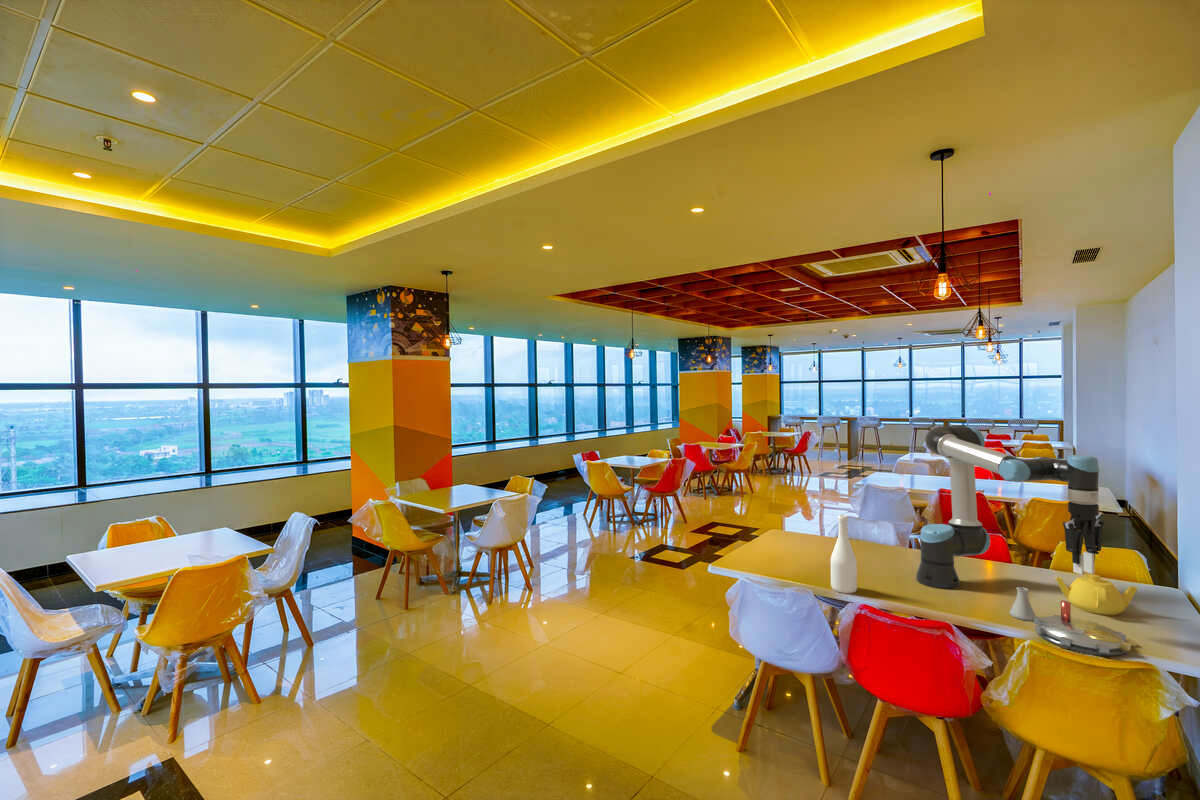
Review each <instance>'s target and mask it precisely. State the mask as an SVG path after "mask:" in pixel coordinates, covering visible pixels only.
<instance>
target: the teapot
mask: <svg viewBox="0 0 1200 800" xmlns="http://www.w3.org/2000/svg"><path fill="white" fill-rule="evenodd" d="M1054 579H1055V580H1056V582H1057V584H1058V586H1059V588H1060V590H1061V592H1062V594H1063V596H1064V597H1065V598H1066V599H1067V600H1066V601H1067V602H1070V603H1071V605H1072V606H1073V607H1075V608H1076V609H1078V610H1081V611H1084V612H1086V613H1087V612H1088V613H1092V614H1095V615H1096V614H1097V615H1104V616H1117V615H1120V614H1122V613H1123V612H1124V611H1125V610H1126V608H1128V606H1129V604H1130V602H1131V601H1132V600H1133V597H1134V596H1135V595H1136V592H1137V590H1138V587H1137V586H1129V587H1128V588H1127V589H1126V590H1125V591H1124V592H1123V593H1122V594H1121V592H1120V591H1119V590H1118V588H1117V587H1116V586H1115V585H1114V583H1113V582H1112V581H1109V580H1108V579H1104V578H1102V577H1101V575H1099V574H1095V573H1094V574H1091V573H1088V572H1084V575H1083V576H1078V577H1077V578H1076V579H1074V580H1073V582H1072V583H1071V584H1070V585H1069V586H1067V584H1066V583H1065V582H1064V580H1063V578H1062V577H1061V576H1060V577H1058V576H1055V577H1054Z"/></svg>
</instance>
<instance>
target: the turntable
mask: <svg viewBox="0 0 1200 800" xmlns="http://www.w3.org/2000/svg"><path fill="white" fill-rule="evenodd" d="M1071 605H1072V604H1071V603H1070V602H1069V601H1068V600H1060V615H1059V614H1053V615H1051V616H1043V617H1041V616H1036V617H1035V618H1034V620H1033V624H1034V627H1035V628H1034V631H1035V632H1036V633H1037V632H1038V633H1039V634H1045V635H1046V636H1048V637H1050V638H1052V639H1054V640H1057V641H1059V642H1060V644H1064V645H1067V646H1075V647H1080V648H1084V649H1089V650H1096V651H1098V652H1100V653H1109V651H1119V650H1125V651H1126V652H1130V650H1131V649H1132V646H1131V643H1128V642H1124V641H1126V638H1127V635H1126V634H1125V633H1123V632H1122V631H1116V630H1114V629H1112V628H1110V627H1107V626H1104V625H1103V624H1102V625H1101V624H1099V622H1096V621H1093V620H1089V619H1088V620H1084V619H1081V618H1080V619H1079V618H1075V617H1071V616H1072V615H1071V614H1072V613H1071V609H1072V608H1071Z"/></svg>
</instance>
